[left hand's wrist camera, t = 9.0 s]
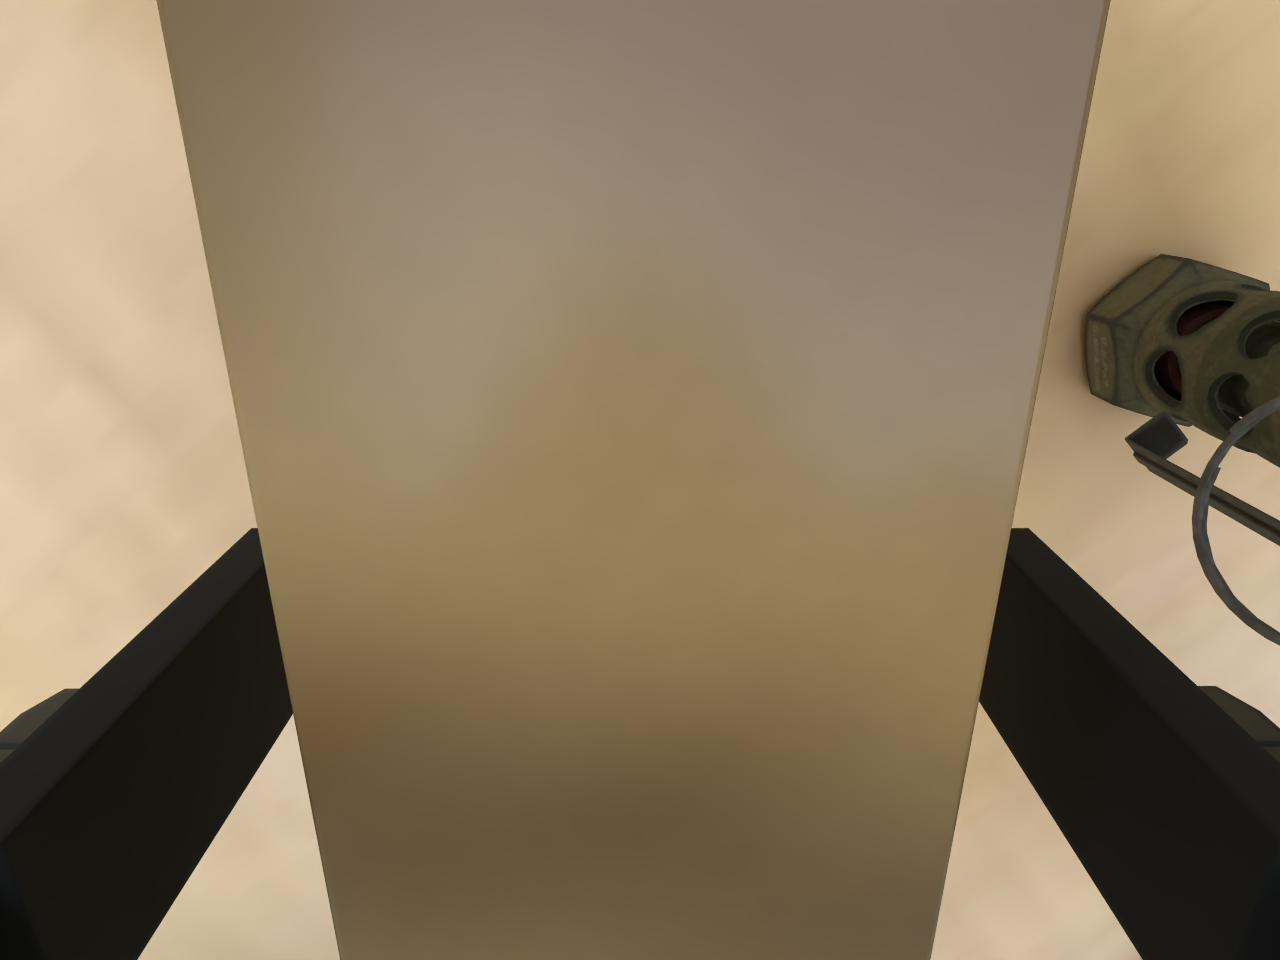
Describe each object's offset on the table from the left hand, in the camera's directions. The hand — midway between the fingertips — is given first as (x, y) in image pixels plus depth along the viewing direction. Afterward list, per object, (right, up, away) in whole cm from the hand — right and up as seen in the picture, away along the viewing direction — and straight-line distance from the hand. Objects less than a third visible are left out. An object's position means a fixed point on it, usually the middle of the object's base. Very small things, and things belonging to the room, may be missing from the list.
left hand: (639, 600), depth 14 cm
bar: (0, +12, -3) cm, 12 cm away
